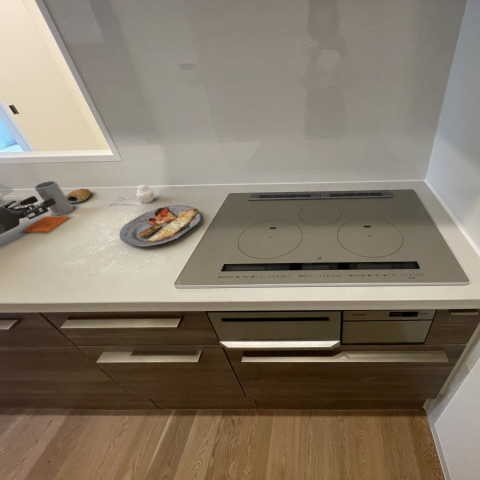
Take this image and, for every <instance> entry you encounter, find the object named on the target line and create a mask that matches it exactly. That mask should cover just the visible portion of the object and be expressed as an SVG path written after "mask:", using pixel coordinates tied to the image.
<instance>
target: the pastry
mask: <svg viewBox="0 0 480 480" xmlns="http://www.w3.org/2000/svg"><path fill="white" fill-rule="evenodd" d="M91 195H92V192H91V190H90V189H89V188H80V189H76V190H72V191H70V192H68V193H66V195H65V196H66V197H67V199H68V200H69V202H70V203H71V204H76V203H82V202H84V201H86V200H87V199H89V197H90V196H91Z"/></svg>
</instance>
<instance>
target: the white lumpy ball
mask: <svg viewBox="0 0 480 480" xmlns="http://www.w3.org/2000/svg"><path fill="white" fill-rule="evenodd" d="M135 196H136V197H137V198H138V199H139V200H141V201H142V202H143V203H145V204H147V203H152V202H153V201H154V197H155V190H154V189H152V188H150V187H149V186H148V185H147V184H140V185H138V186H137V191H136V194H135Z"/></svg>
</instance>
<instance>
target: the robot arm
mask: <svg viewBox="0 0 480 480" xmlns="http://www.w3.org/2000/svg"><path fill="white" fill-rule="evenodd" d="M38 202H39V199H38V198H37V196H35V195H31V196H29V197H27V198H25V199H22V200H21V199H19V200H17V201H16V200H12V201H10V202H7V203H4V204H3V205H0V236H1V235H3V234H6V233H7V232H9V231H12V230H14V229H15V228H18V227H19V226H20V220H22V219H26V218H28V220H33V219H35V218H37V217H40V216H42V215H43V214H46V213H48V212H49V211H50V209H49V207H50V206H52V205H55V204H56V201H55V200H54V199H53V198H50V199H48V200H46V201H44V200H42V201H41V202H39V203H38Z"/></svg>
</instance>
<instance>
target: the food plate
mask: <svg viewBox="0 0 480 480" xmlns="http://www.w3.org/2000/svg"><path fill="white" fill-rule="evenodd" d="M201 220H202V215H201V211H200V210H199V209H198V208H195V207H193V206H189V205H184V204H178V205H167V206H166V205H164V206H162V207H159V208H155V209H153V210H150V211H146V212H144V213H142V214H140V215H138V216H137V217H136V218H134V219H132V220H130V221H128V223H125V224H124V225H123V226H122V227H121V229H120V230H119V234H118V235H119V239H120V240H121V241H122V242H123V243H125V244H128V245H132V246H137V247H149V246H157V245H161V244H165V243H167V242H171V241H174V240H175V239H179V238H180V237H181V236H183V235H184V234H186V233H187V232H188V231H190V230H191V229H192V228H194V227H195V226H196V225H197V224H199V223H200V222H201Z"/></svg>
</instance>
